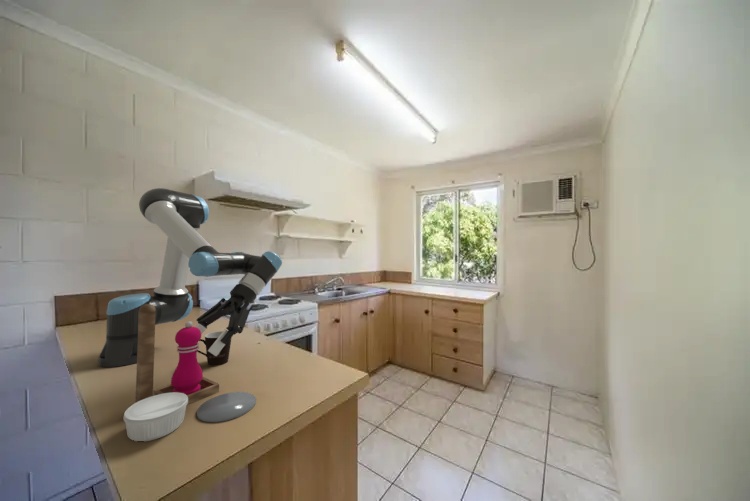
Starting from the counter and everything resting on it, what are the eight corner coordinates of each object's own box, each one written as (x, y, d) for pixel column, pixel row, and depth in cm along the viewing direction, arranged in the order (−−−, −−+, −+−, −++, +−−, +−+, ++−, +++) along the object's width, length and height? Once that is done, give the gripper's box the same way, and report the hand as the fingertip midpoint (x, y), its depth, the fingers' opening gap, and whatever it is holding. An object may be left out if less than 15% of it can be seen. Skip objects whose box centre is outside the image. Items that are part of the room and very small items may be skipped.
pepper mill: (167, 404, 69) (170, 325, 70) (173, 391, 76) (175, 320, 76) (200, 397, 73) (202, 322, 73) (203, 386, 79) (205, 317, 80)
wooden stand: (198, 381, 82) (200, 295, 83) (219, 391, 76) (222, 298, 77) (121, 409, 67) (125, 303, 67) (141, 424, 61) (144, 307, 62)
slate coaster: (205, 397, 72) (206, 395, 72) (258, 391, 76) (258, 388, 76) (188, 426, 60) (188, 424, 60) (252, 416, 64) (252, 414, 64)
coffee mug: (236, 358, 101) (237, 331, 101) (221, 367, 92) (222, 338, 93) (207, 357, 102) (208, 330, 102) (189, 366, 94) (190, 337, 94)
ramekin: (153, 449, 53) (154, 422, 53) (107, 442, 55) (108, 416, 55) (199, 417, 64) (200, 394, 64) (159, 411, 66) (160, 390, 66)
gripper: (280, 299, 85) (234, 364, 72) (232, 294, 98) (185, 348, 84) (265, 284, 81) (214, 350, 67) (217, 280, 93) (166, 335, 80)
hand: (198, 349), depth 76 cm, fingers open, 13 cm apart
